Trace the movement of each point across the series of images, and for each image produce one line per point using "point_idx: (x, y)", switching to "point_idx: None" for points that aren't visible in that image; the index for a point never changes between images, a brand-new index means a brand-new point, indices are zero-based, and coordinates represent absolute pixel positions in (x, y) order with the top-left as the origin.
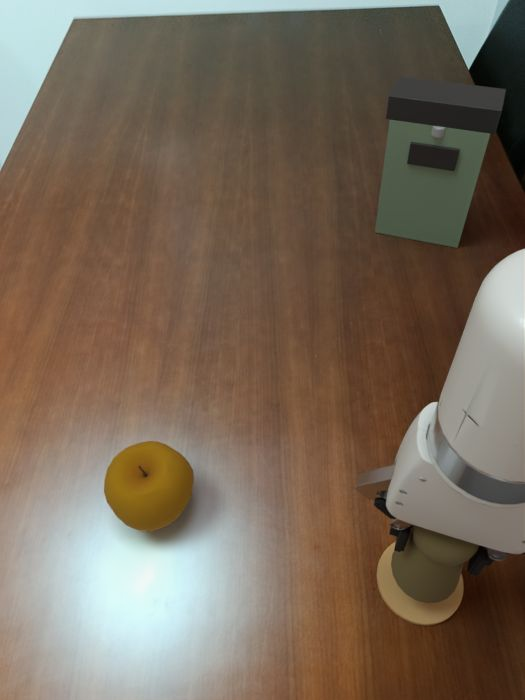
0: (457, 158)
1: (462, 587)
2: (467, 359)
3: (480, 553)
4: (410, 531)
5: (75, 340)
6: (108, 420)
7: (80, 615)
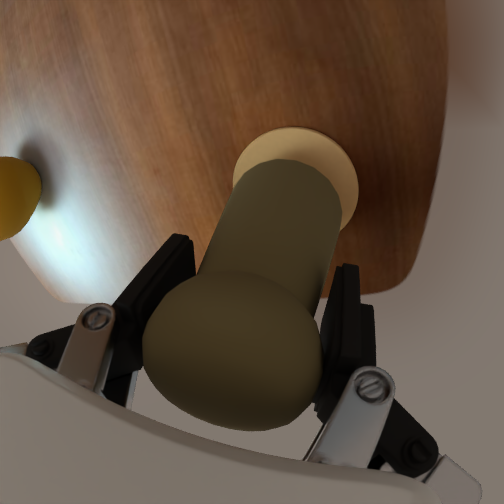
0: None
1: (356, 195)
2: None
3: (314, 401)
4: None
5: None
6: None
7: (49, 264)
